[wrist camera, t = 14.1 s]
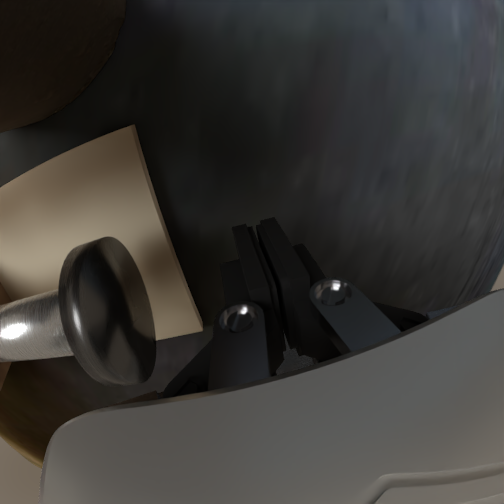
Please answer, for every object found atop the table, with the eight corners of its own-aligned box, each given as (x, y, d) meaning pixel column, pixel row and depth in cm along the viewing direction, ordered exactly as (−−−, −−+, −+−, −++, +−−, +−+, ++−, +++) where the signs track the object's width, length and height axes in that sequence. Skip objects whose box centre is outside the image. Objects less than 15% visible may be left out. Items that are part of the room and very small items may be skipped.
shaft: (159, 313, 14) (153, 410, 9) (5, 341, 13) (-21, 405, 8) (115, 213, 11) (66, 299, 6) (-39, 275, 10) (-81, 335, 5)
